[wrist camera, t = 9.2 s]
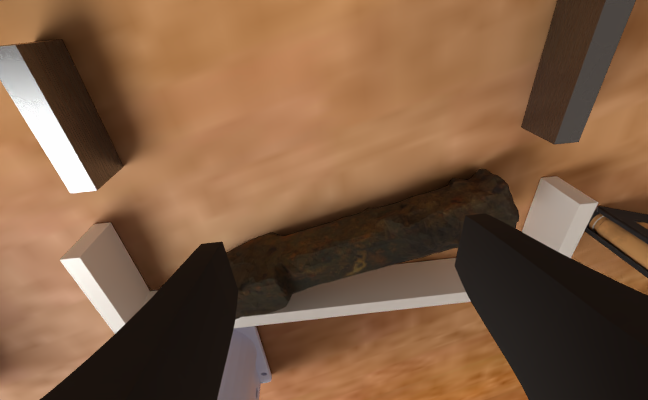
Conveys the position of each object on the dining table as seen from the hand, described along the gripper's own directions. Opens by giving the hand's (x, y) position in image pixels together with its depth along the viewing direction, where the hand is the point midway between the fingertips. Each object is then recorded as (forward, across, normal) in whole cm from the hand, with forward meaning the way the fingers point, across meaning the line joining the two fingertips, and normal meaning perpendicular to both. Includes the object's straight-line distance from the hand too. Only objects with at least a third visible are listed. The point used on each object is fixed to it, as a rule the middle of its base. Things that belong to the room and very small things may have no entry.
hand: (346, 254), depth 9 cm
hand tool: (+9, -1, +6) cm, 11 cm away
